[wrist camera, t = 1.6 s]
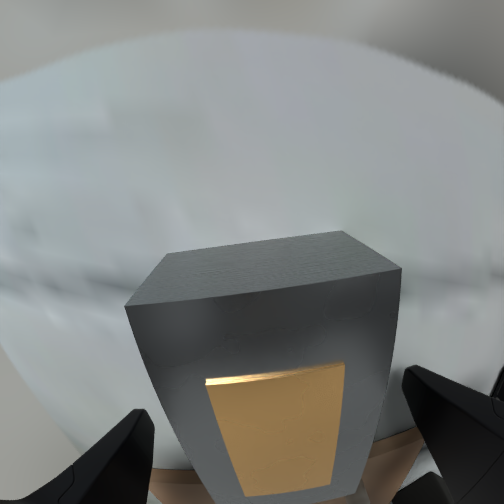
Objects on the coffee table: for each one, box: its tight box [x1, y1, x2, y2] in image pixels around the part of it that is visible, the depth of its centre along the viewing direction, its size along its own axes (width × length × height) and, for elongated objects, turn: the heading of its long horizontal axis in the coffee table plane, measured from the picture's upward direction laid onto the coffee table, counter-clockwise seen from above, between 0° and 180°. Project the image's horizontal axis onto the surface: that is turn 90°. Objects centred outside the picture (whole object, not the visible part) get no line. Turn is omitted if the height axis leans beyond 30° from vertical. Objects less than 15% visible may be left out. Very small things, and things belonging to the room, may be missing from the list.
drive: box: [124, 231, 402, 504], centre depth 8 cm, size 10×6×4 cm, turn 7°
